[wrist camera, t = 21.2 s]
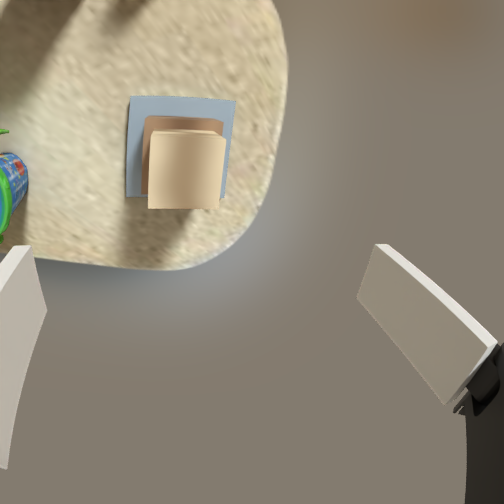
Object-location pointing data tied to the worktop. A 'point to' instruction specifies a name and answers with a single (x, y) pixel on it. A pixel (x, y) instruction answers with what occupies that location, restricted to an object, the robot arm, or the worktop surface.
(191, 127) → the walnut brick
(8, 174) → the snack cup
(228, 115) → the plate
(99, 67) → the worktop surface
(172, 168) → the oak brick
